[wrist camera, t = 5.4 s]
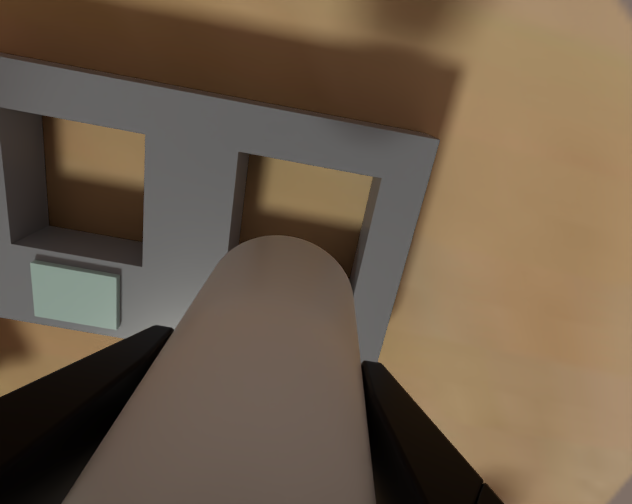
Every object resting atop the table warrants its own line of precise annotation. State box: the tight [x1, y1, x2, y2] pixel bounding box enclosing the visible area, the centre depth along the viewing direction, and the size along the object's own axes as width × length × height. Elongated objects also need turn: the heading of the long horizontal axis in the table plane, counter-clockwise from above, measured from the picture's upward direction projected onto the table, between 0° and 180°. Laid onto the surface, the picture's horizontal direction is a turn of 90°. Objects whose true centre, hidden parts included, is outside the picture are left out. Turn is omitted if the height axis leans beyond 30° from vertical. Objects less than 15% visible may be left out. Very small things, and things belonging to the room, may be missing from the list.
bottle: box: [61, 235, 376, 504], centre depth 7 cm, size 4×4×9 cm
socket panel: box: [0, 52, 440, 363], centre depth 18 cm, size 11×18×3 cm, turn 80°
